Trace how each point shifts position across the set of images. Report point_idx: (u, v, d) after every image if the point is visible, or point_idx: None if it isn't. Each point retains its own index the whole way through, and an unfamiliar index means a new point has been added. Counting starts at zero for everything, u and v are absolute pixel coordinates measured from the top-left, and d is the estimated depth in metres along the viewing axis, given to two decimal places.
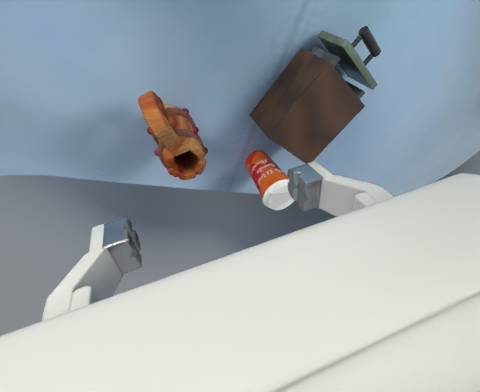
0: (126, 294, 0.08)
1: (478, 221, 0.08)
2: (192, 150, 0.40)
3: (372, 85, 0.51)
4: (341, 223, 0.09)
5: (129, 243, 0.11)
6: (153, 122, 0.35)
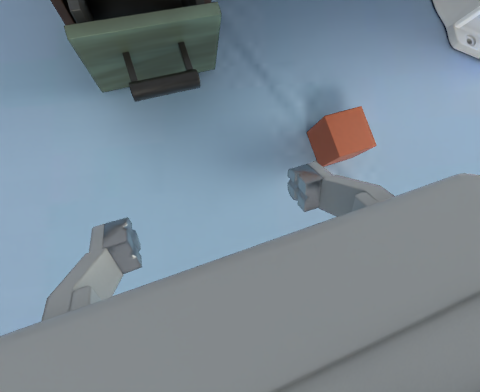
0: (126, 294, 0.08)
1: (478, 221, 0.08)
2: None
3: (77, 27, 0.21)
4: (341, 223, 0.09)
5: (129, 243, 0.11)
6: None
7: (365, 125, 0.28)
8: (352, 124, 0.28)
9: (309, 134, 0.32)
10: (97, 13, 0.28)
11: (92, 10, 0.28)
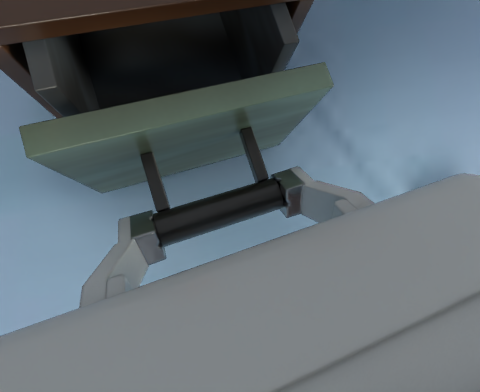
0: (126, 294, 0.08)
1: (478, 221, 0.08)
2: None
3: (49, 128, 0.09)
4: (341, 223, 0.09)
5: (156, 235, 0.11)
6: None
7: None
8: None
9: None
10: (95, 62, 0.17)
11: (87, 57, 0.17)
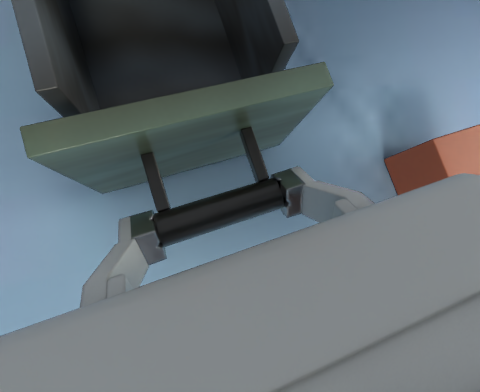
0: (126, 294, 0.08)
1: (478, 221, 0.08)
2: None
3: (50, 128, 0.10)
4: (341, 223, 0.09)
5: (156, 234, 0.11)
6: None
7: None
8: (474, 152, 0.18)
9: (391, 163, 0.21)
10: (95, 63, 0.17)
11: (87, 58, 0.17)
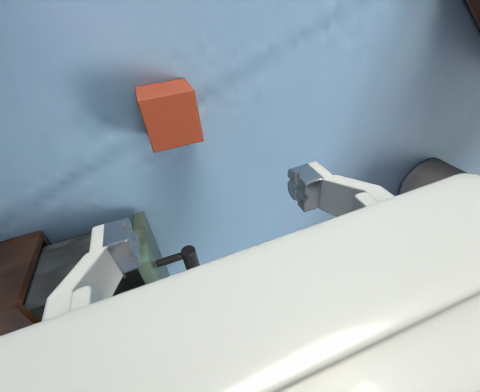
0: (126, 294, 0.08)
1: (478, 221, 0.08)
2: None
3: None
4: (341, 223, 0.09)
5: (129, 243, 0.11)
6: None
7: (166, 100, 0.21)
8: (164, 119, 0.22)
9: None
10: None
11: None
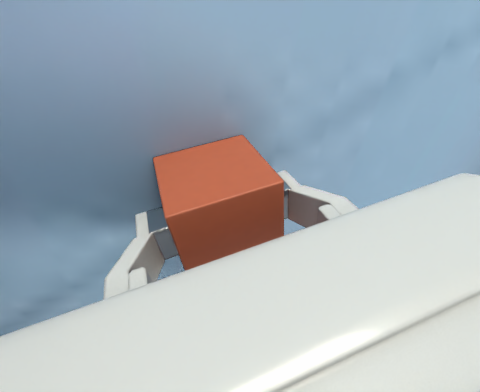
0: (126, 294, 0.08)
1: (478, 221, 0.08)
2: None
3: None
4: (341, 223, 0.09)
5: None
6: None
7: (226, 208, 0.10)
8: (219, 238, 0.11)
9: None
10: None
11: None
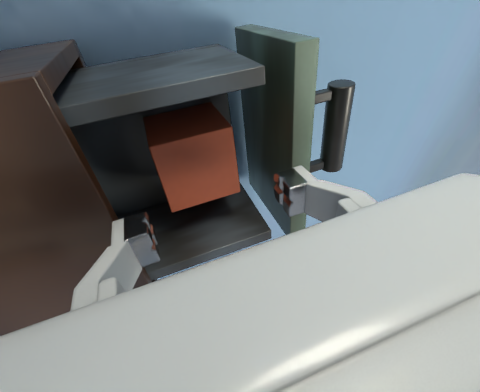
0: (126, 294, 0.08)
1: (478, 221, 0.08)
2: None
3: (294, 230, 0.18)
4: (341, 223, 0.09)
5: (149, 237, 0.11)
6: None
7: (191, 144, 0.14)
8: (188, 169, 0.15)
9: None
10: None
11: None
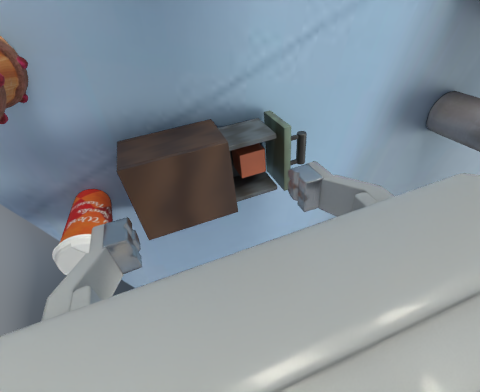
0: (126, 294, 0.08)
1: (478, 221, 0.08)
2: None
3: (285, 186, 0.48)
4: (341, 223, 0.09)
5: (129, 243, 0.11)
6: None
7: (251, 154, 0.45)
8: (249, 162, 0.45)
9: None
10: (236, 173, 0.51)
11: (234, 176, 0.52)
